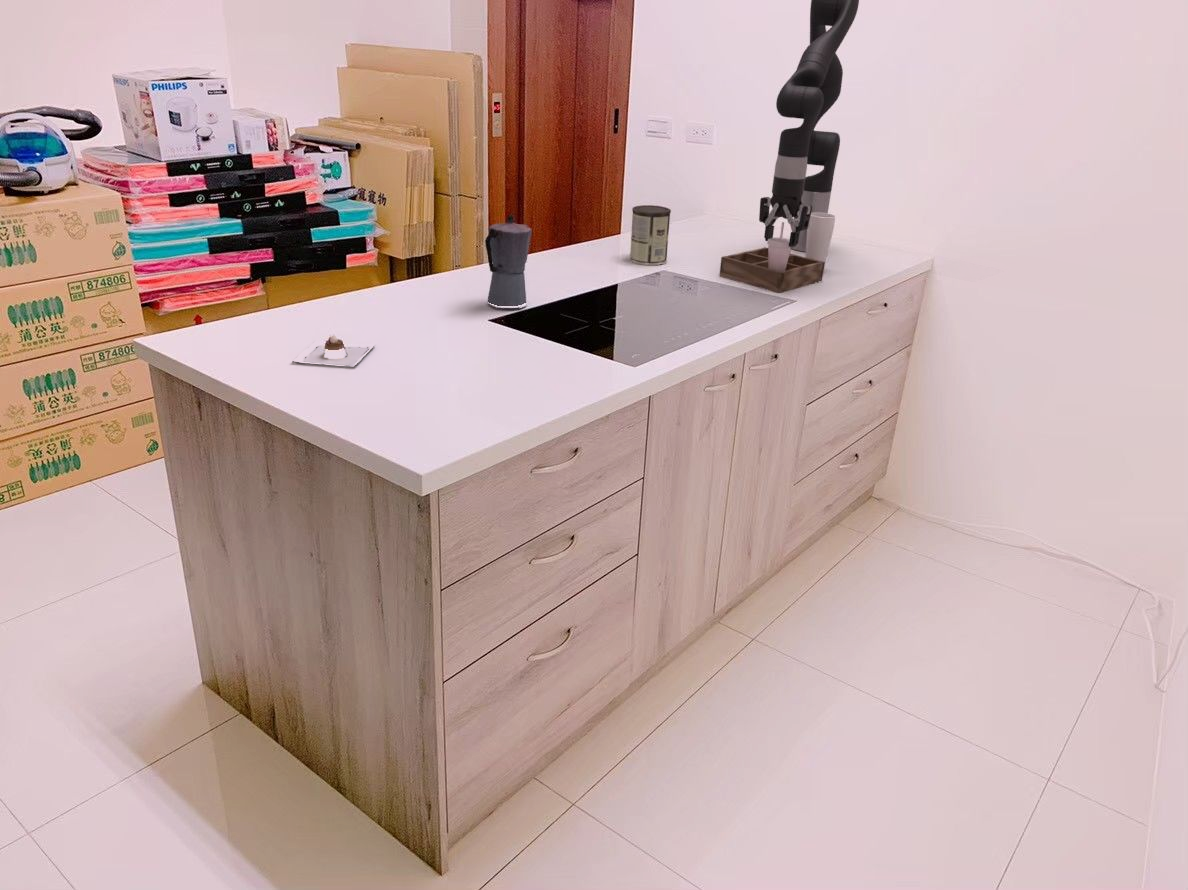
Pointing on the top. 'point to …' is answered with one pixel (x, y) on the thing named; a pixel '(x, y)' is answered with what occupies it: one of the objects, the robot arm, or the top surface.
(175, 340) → the top surface
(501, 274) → the moka pot
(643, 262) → the coffee can
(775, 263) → the smoothie
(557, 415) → the top surface
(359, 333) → the top surface
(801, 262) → the bottle crate
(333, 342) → the dessert
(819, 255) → the drinking glass
